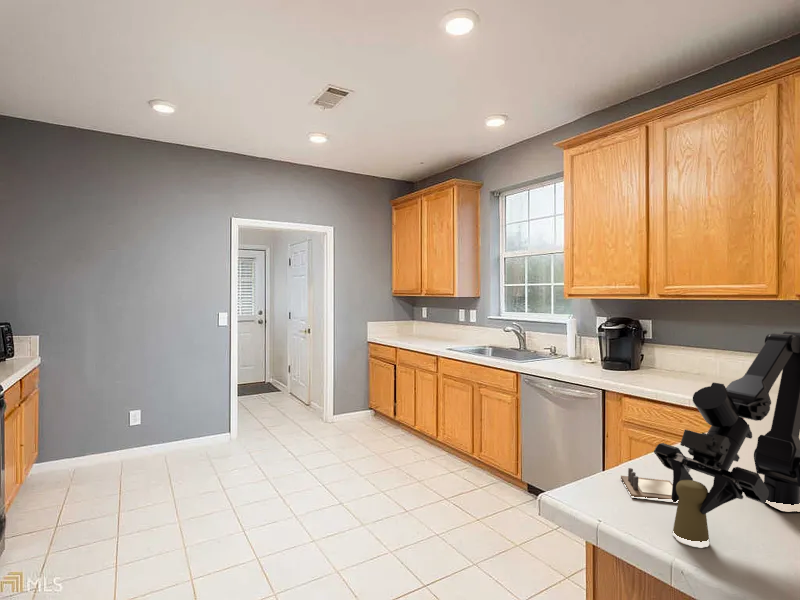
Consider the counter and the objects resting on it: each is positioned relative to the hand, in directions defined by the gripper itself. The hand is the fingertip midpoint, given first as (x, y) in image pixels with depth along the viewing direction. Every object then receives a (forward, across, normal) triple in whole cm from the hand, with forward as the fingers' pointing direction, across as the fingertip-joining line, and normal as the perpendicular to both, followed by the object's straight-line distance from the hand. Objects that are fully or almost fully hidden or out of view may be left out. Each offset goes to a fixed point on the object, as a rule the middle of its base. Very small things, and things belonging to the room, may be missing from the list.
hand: (687, 506), depth 86 cm
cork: (+4, 0, +6) cm, 7 cm away
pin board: (-6, -17, +15) cm, 23 cm away
